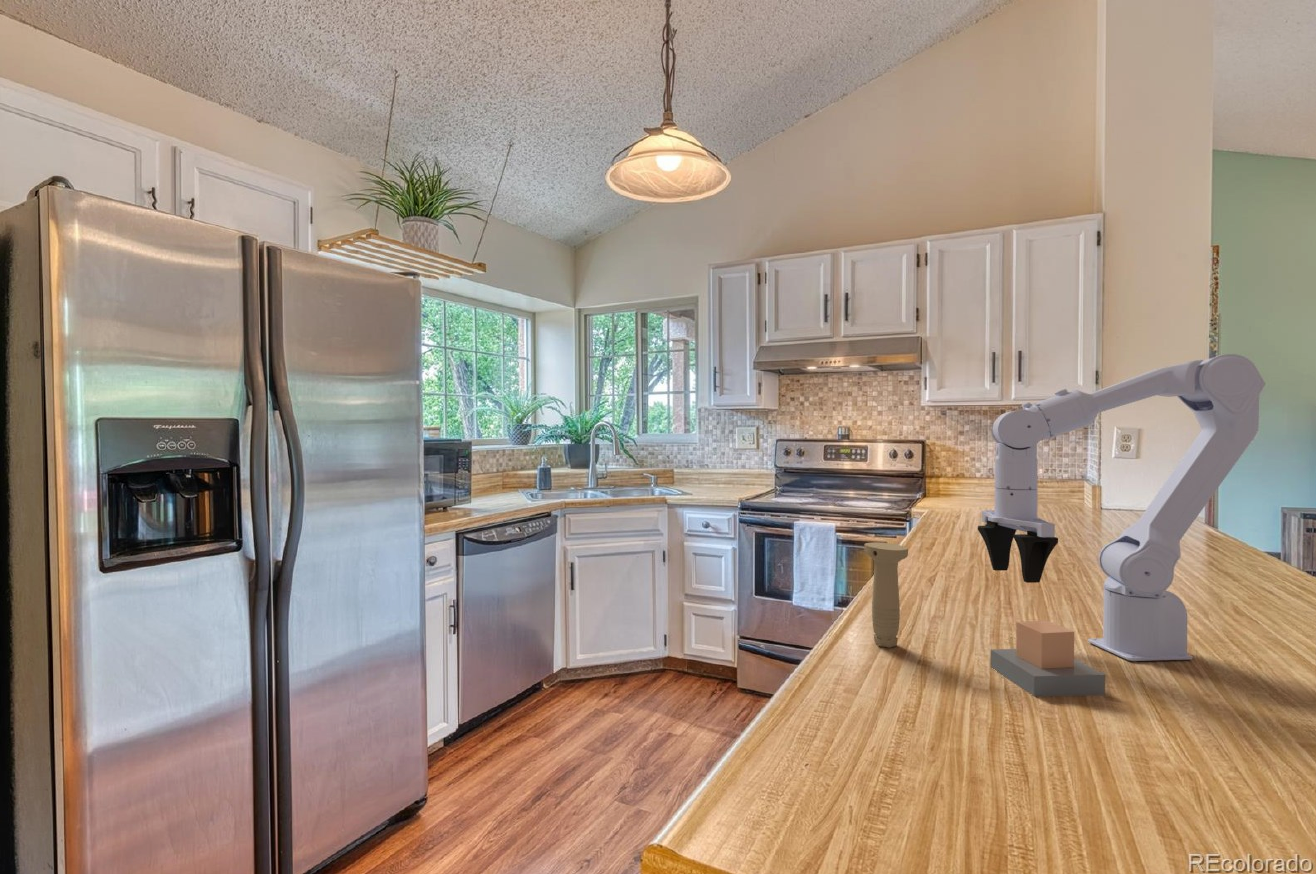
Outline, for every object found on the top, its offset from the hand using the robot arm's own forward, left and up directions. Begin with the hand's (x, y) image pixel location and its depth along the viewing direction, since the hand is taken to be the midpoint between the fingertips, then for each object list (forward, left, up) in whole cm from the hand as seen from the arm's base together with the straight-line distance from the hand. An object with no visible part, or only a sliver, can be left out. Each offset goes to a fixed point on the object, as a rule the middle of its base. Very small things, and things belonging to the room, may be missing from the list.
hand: (1015, 575), depth 94 cm
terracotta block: (+6, +15, -7) cm, 18 cm away
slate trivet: (+6, +15, -10) cm, 19 cm away
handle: (+21, +1, -10) cm, 23 cm away
